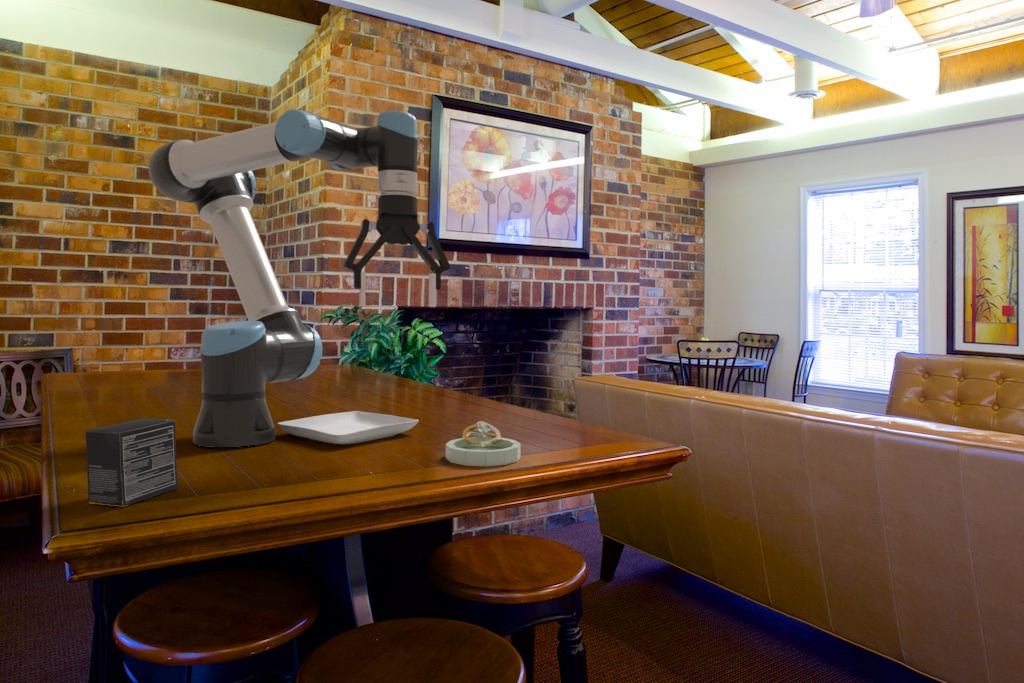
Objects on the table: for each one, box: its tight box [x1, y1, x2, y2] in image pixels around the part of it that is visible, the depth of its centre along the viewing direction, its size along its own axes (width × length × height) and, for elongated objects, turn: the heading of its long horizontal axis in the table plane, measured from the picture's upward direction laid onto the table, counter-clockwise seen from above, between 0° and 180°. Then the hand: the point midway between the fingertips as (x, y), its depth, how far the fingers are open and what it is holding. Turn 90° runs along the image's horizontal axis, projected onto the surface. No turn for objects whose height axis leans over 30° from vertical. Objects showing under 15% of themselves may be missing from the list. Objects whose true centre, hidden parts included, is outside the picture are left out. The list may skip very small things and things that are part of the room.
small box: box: [85, 418, 179, 506], centre depth 103 cm, size 11×6×10 cm, turn 163°
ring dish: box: [445, 436, 522, 467], centre depth 130 cm, size 13×13×2 cm
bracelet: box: [462, 420, 502, 447], centre depth 134 cm, size 7×3×8 cm
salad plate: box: [276, 410, 419, 446], centre depth 150 cm, size 21×21×3 cm
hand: (397, 306), depth 140 cm, fingers open, 13 cm apart
